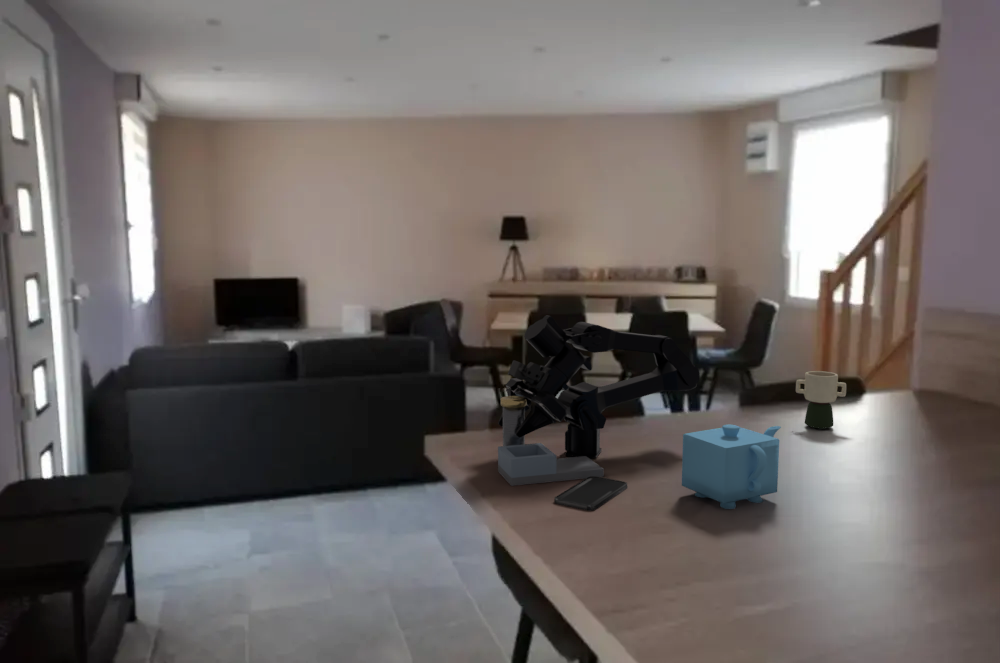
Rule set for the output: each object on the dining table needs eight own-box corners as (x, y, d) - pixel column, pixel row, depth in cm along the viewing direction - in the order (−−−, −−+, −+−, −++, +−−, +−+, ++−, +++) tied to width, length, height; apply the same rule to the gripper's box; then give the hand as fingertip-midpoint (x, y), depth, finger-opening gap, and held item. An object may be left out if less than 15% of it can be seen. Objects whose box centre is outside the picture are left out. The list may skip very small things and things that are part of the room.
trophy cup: (844, 426, 182) (847, 372, 181) (843, 433, 176) (846, 378, 174) (795, 422, 187) (797, 369, 185) (793, 428, 180) (795, 374, 179)
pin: (529, 460, 157) (529, 396, 155) (522, 467, 152) (522, 402, 150) (505, 457, 158) (505, 395, 157) (497, 465, 154) (497, 400, 152)
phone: (551, 498, 132) (591, 475, 145) (551, 505, 132) (591, 481, 145) (593, 507, 128) (629, 482, 140) (593, 514, 128) (629, 488, 141)
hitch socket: (585, 463, 155) (586, 439, 154) (603, 476, 146) (604, 451, 146) (498, 471, 150) (498, 446, 149) (511, 485, 141) (511, 459, 141)
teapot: (734, 518, 125) (737, 441, 123) (671, 490, 139) (673, 420, 137) (812, 500, 133) (816, 427, 131) (745, 475, 147) (748, 409, 145)
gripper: (514, 340, 162) (465, 395, 160) (552, 353, 145) (499, 415, 142) (547, 374, 166) (500, 428, 164) (589, 390, 149) (537, 452, 146)
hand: (508, 430), depth 154 cm, fingers open, 9 cm apart
